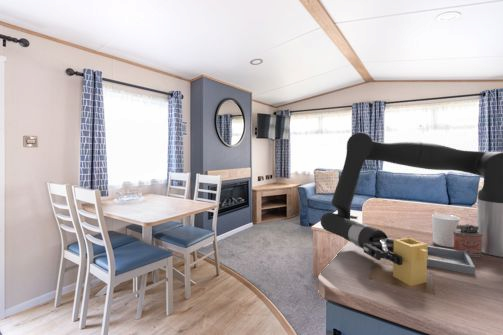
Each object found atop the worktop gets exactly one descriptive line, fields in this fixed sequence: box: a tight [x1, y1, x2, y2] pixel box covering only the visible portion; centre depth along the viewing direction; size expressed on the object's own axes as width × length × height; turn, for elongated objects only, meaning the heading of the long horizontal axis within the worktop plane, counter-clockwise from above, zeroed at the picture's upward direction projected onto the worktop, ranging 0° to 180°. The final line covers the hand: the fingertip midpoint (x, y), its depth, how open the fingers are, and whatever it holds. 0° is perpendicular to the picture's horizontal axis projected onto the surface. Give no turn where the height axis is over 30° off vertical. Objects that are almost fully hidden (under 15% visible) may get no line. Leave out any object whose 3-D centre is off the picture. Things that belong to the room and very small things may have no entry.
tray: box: [427, 245, 476, 276], centre depth 73 cm, size 12×12×3 cm
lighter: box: [453, 223, 483, 258], centre depth 79 cm, size 8×3×10 cm, turn 84°
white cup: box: [431, 213, 461, 248], centre depth 89 cm, size 8×8×10 cm
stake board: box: [368, 244, 436, 295], centre depth 65 cm, size 14×11×10 cm
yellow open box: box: [392, 236, 429, 286], centre depth 63 cm, size 7×5×10 cm
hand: (414, 258), depth 62 cm, fingers open, 8 cm apart
